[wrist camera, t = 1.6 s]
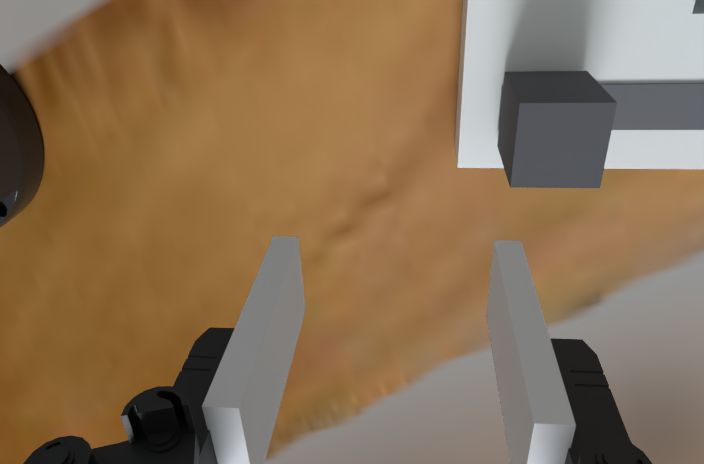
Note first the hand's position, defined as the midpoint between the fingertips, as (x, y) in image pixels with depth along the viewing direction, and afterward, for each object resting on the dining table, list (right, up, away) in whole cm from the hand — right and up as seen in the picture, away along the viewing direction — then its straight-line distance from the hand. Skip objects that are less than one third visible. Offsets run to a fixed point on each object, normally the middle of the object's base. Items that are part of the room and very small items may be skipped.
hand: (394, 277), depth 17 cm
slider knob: (+8, +8, +12) cm, 17 cm away
